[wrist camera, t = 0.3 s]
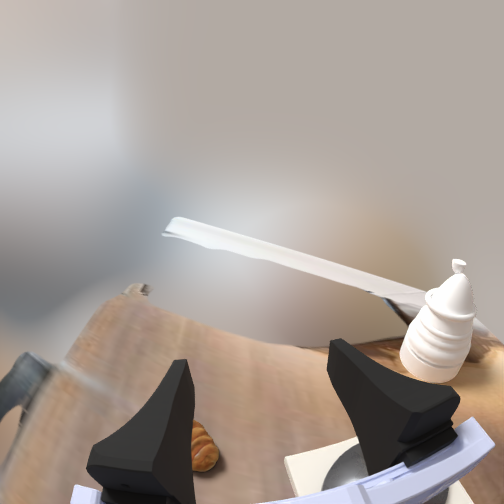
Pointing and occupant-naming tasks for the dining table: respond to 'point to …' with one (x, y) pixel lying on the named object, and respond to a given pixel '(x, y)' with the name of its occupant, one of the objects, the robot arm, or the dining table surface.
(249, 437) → the dining table surface
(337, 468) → the handwheel
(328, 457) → the base
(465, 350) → the honey pot
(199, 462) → the pastry
